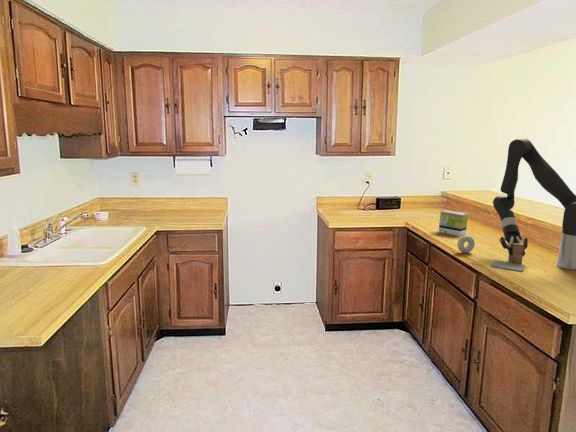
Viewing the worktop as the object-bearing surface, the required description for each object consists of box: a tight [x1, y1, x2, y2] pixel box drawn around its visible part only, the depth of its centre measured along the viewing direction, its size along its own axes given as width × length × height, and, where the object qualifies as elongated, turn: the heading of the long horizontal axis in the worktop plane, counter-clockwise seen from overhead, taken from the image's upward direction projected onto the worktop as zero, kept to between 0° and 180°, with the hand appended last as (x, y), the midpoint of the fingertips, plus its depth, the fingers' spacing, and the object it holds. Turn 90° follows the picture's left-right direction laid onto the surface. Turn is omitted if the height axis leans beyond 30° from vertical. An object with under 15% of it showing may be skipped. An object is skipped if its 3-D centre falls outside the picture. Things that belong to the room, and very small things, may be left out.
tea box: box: [438, 209, 469, 237], centre depth 289 cm, size 15×10×15 cm
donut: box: [456, 234, 476, 254], centre depth 239 cm, size 10×4×10 cm, turn 101°
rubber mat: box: [490, 259, 526, 273], centre depth 216 cm, size 14×12×1 cm
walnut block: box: [507, 243, 524, 265], centre depth 223 cm, size 4×5×10 cm
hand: (517, 255), depth 221 cm, fingers closed on walnut block, 5 cm apart
